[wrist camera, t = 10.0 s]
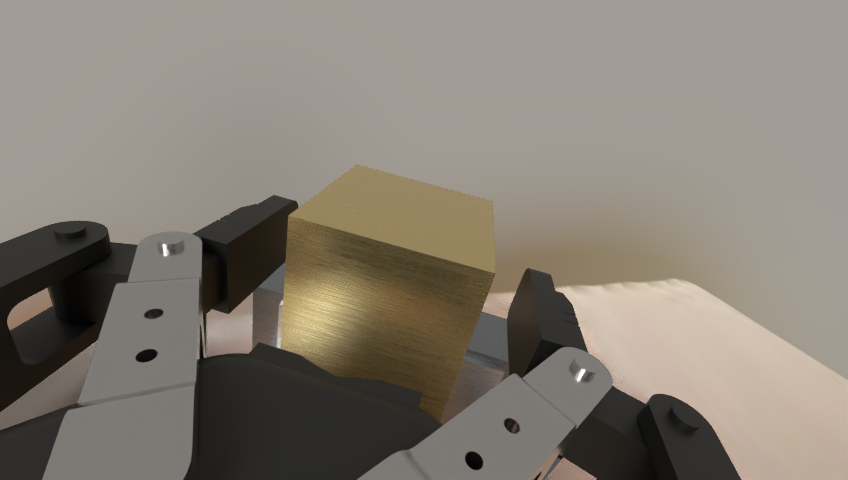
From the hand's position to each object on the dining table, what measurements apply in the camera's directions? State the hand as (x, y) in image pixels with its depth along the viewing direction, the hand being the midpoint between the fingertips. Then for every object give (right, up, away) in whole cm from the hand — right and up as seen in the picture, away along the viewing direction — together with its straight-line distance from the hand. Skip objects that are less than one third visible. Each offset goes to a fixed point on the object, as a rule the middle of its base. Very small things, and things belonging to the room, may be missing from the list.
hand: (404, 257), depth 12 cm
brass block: (-3, -11, +5) cm, 13 cm away
